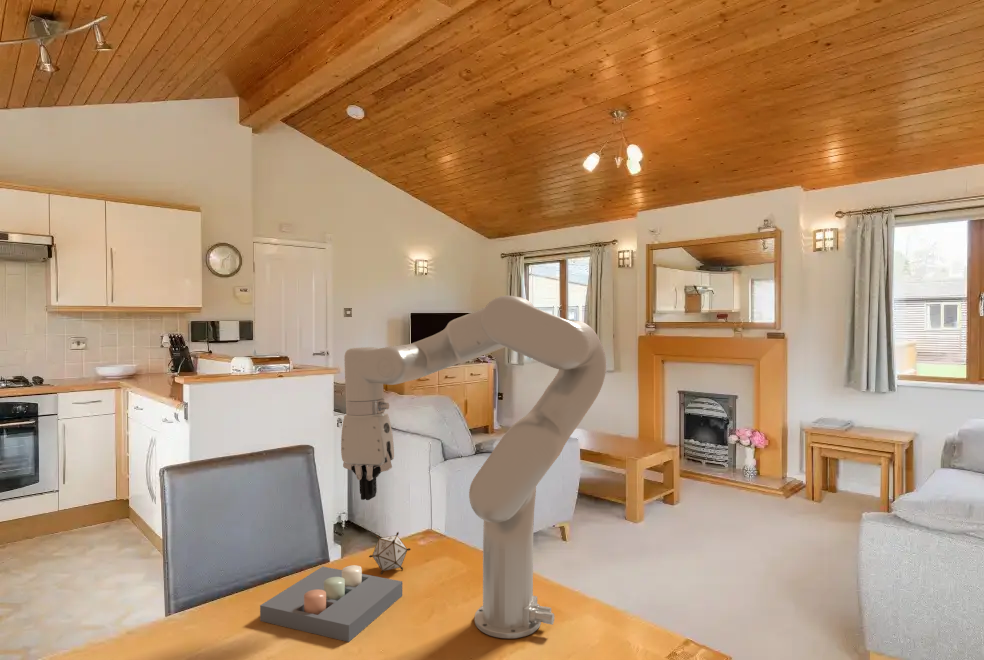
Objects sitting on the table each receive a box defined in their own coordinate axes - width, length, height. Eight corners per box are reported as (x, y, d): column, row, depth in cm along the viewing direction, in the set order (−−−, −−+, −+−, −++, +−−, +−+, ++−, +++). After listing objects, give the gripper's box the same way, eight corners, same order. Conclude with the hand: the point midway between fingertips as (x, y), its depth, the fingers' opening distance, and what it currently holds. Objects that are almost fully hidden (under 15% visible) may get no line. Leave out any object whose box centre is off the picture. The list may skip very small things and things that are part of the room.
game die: (395, 588, 136) (405, 563, 130) (361, 574, 136) (369, 549, 130) (408, 556, 143) (418, 531, 138) (375, 543, 143) (383, 517, 138)
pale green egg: (348, 603, 120) (348, 578, 120) (336, 612, 116) (336, 587, 116) (332, 599, 122) (332, 575, 122) (319, 608, 118) (319, 583, 118)
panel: (402, 595, 124) (402, 581, 124) (348, 641, 107) (348, 625, 107) (322, 579, 132) (322, 566, 131) (260, 620, 114) (260, 605, 114)
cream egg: (365, 590, 126) (365, 567, 126) (354, 598, 122) (354, 574, 122) (349, 587, 127) (349, 564, 127) (338, 595, 124) (338, 571, 123)
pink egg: (330, 617, 115) (330, 591, 114) (317, 627, 111) (317, 600, 111) (313, 613, 116) (313, 588, 116) (299, 623, 112) (299, 597, 112)
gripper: (406, 406, 122) (409, 495, 123) (344, 405, 127) (347, 490, 128) (388, 411, 115) (392, 506, 116) (323, 410, 120) (326, 501, 121)
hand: (368, 497), depth 122 cm, fingers closed
